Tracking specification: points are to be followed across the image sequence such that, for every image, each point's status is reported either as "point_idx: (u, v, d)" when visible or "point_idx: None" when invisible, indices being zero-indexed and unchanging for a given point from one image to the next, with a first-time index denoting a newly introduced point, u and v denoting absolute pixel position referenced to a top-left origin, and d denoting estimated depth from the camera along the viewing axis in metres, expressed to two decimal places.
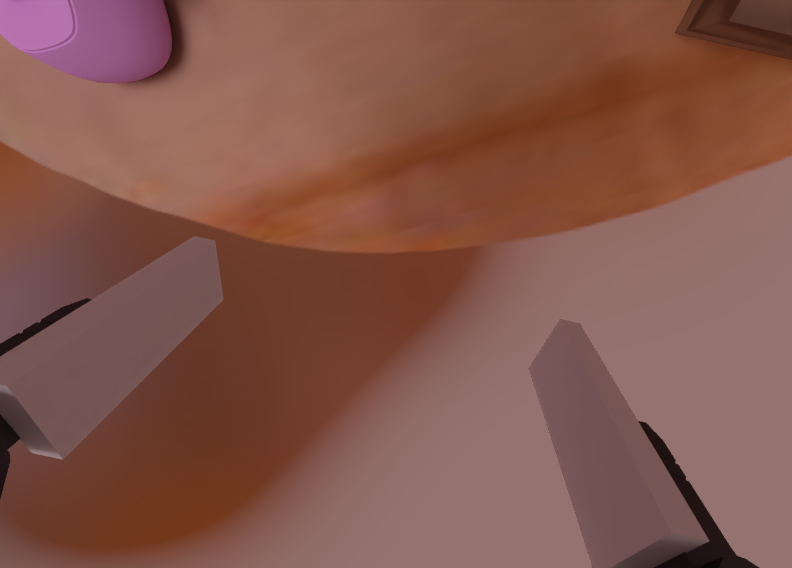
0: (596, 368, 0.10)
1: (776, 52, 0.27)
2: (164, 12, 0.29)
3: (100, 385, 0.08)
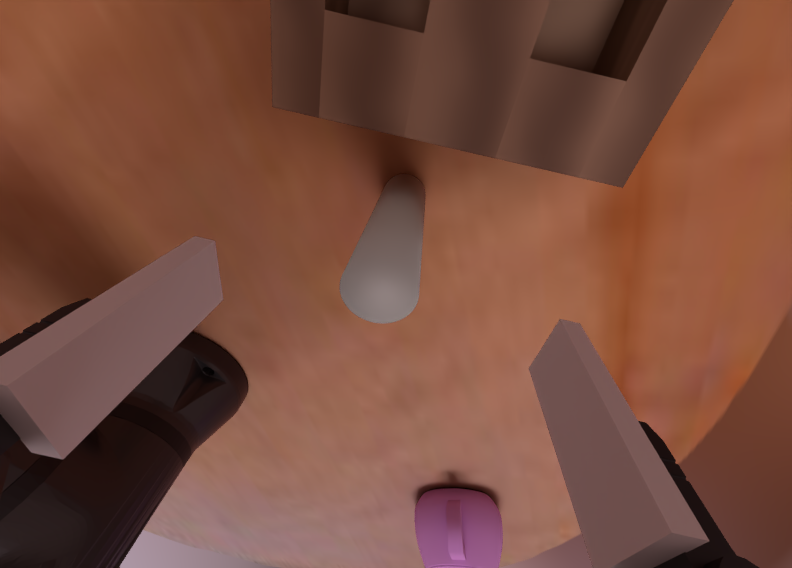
0: (596, 368, 0.10)
1: None
2: (470, 498, 0.46)
3: (100, 385, 0.08)
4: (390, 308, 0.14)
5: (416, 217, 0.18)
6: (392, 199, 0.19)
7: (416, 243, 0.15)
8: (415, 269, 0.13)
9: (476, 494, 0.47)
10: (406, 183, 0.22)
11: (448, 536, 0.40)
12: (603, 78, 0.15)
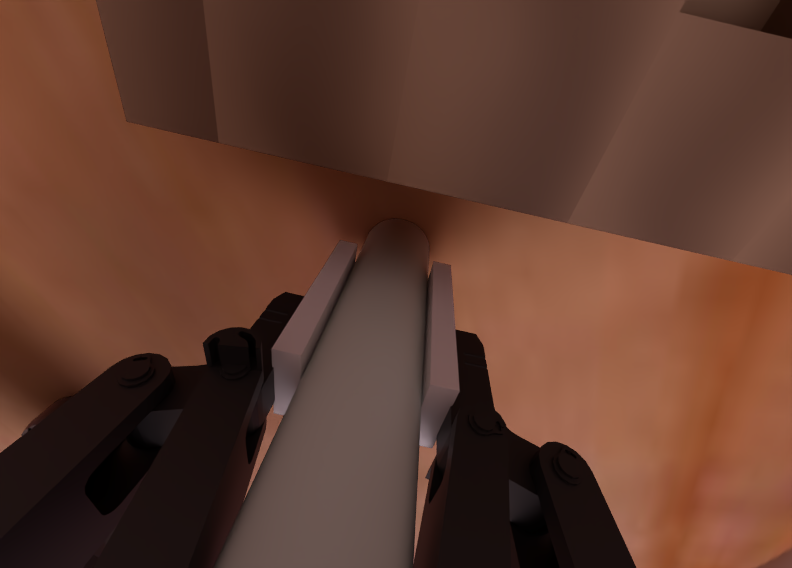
0: (443, 293, 0.11)
1: None
2: None
3: None
4: None
5: (411, 335, 0.09)
6: (368, 292, 0.10)
7: (407, 438, 0.07)
8: None
9: None
10: (398, 242, 0.13)
11: None
12: None
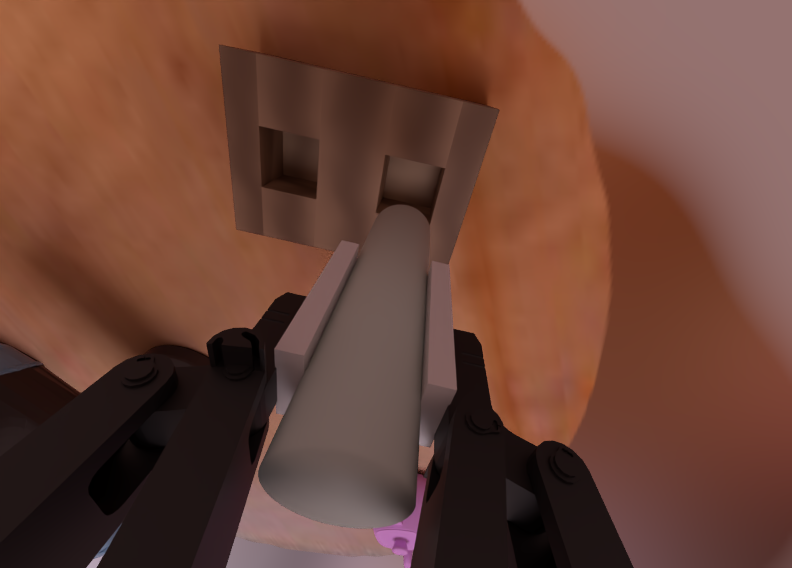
0: (441, 292, 0.11)
1: None
2: None
3: None
4: (361, 513, 0.07)
5: (415, 293, 0.11)
6: (379, 259, 0.12)
7: (413, 361, 0.09)
8: (409, 448, 0.07)
9: (417, 476, 0.59)
10: (403, 223, 0.15)
11: None
12: None
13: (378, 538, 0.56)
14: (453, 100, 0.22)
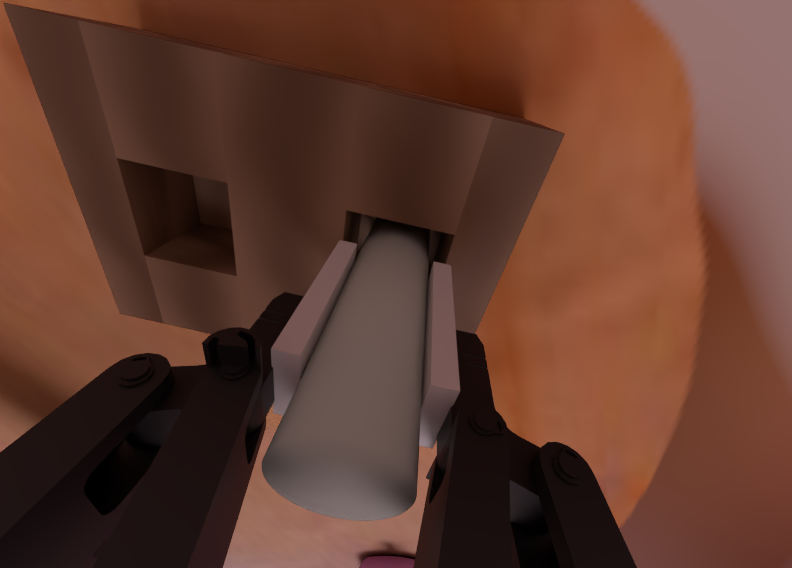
0: (443, 293, 0.11)
1: None
2: None
3: None
4: (362, 505, 0.07)
5: (415, 290, 0.11)
6: (380, 257, 0.12)
7: (414, 357, 0.09)
8: (410, 441, 0.07)
9: (413, 564, 0.48)
10: None
11: None
12: None
13: None
14: (473, 115, 0.11)
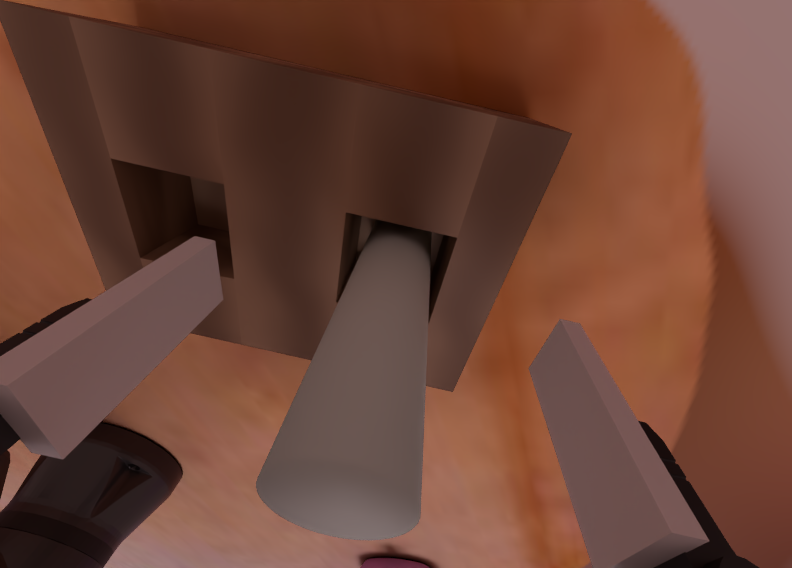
0: (596, 368, 0.10)
1: None
2: None
3: (100, 385, 0.08)
4: (362, 525, 0.07)
5: (418, 295, 0.11)
6: (380, 261, 0.12)
7: (416, 366, 0.08)
8: (413, 458, 0.06)
9: (413, 566, 0.48)
10: None
11: None
12: None
13: None
14: (477, 114, 0.11)
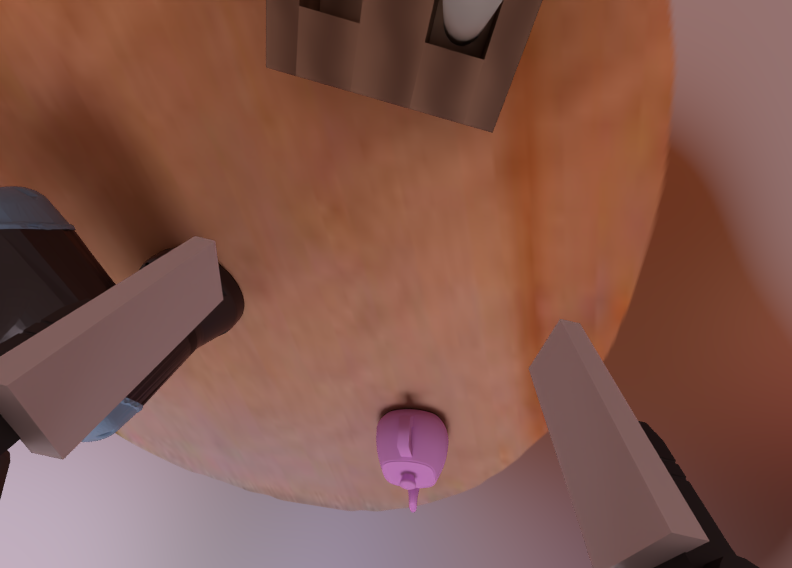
0: (596, 368, 0.10)
1: None
2: (422, 415, 0.56)
3: (100, 385, 0.08)
4: None
5: None
6: None
7: None
8: None
9: (428, 413, 0.57)
10: None
11: (398, 435, 0.50)
12: (470, 57, 0.24)
13: (385, 472, 0.54)
14: None
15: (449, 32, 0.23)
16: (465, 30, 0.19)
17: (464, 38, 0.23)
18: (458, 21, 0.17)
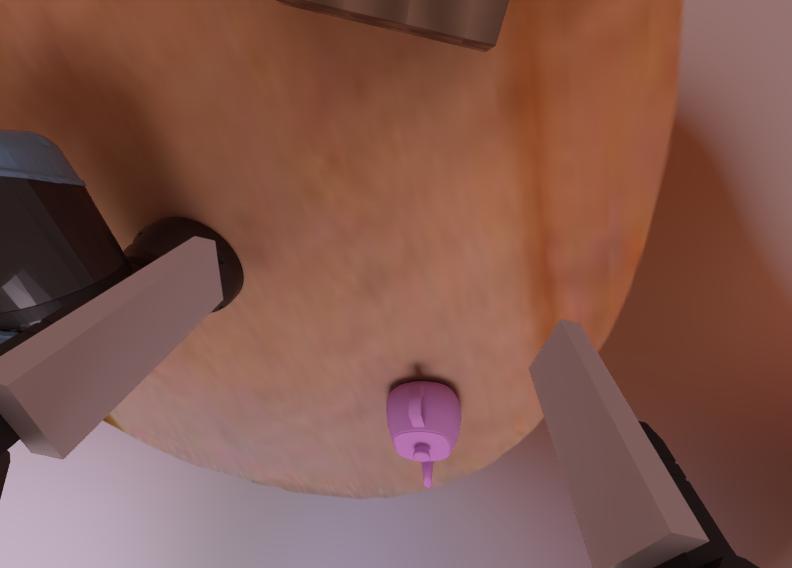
0: (596, 368, 0.10)
1: None
2: (432, 385, 0.54)
3: (100, 385, 0.08)
4: None
5: None
6: None
7: None
8: None
9: (438, 384, 0.55)
10: None
11: (409, 404, 0.48)
12: None
13: (397, 445, 0.52)
14: None
15: None
16: None
17: None
18: None
